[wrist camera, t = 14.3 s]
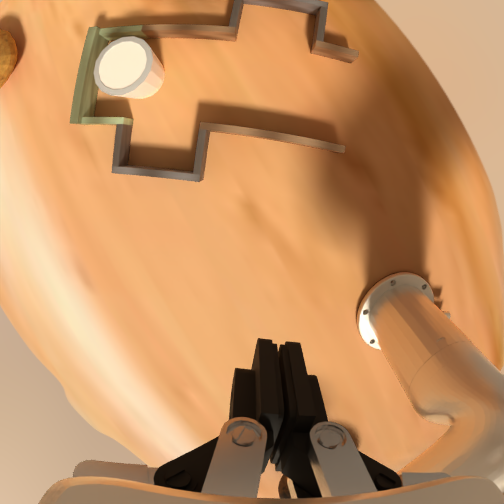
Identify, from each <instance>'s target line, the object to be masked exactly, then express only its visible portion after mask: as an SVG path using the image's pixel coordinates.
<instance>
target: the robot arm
mask: <svg viewBox="0 0 504 504" xmlns="http://www.w3.org/2000/svg"><path fill="white" fill-rule="evenodd" d="M357 327H358V331H359V333H360V335H361V337H362V339H363V340H364V341H365V342H366V343H367V344H368V345H369V346H371V347H373V348H375V349H379V350H382V352H383V353H384V355H385V357H386V359H387V360H388V362H389V364H390V366H391V368H392V369H393V371H394V373H395V375H396V377H397V378H398V380H399V382H400V384H401V386H402V387H403V389H404V391H405V393H406V395H407V397H408V399H409V400H410V402H411V404H412V406H413V408H414V409H415V411H416V412H417V413H418V415H419V416H421V417H422V418H423V419H425V420H427V421H429V422H432V423H436V424H442V425H451V426H450V428H449V429H448V431H447V432H446V433H445V434H444V435H443V436H442V437H440V438H439V439H438V441H437V442H435V443H434V444H433V445H432V446H431V447H429V448H428V449H427V450H426V451H424V452H423V453H422V454H421V455H419V456H418V457H417V458H415V459H414V460H413V461H412V462H410V463H409V464H408V465H406V466H405V467H404V468H402V469H401V470H400V471H398V472H397V473H396V472H394V471H393V470H391V469H389V468H388V467H386V466H384V465H382V464H380V463H379V462H377V461H375V460H373V459H372V458H370V457H368V456H366V455H365V454H363V453H361V452H360V451H358V450H357V448H356V446H355V444H354V442H353V440H352V438H351V436H350V434H349V432H348V431H347V429H345V428H344V427H343V426H341V425H339V424H337V423H334V422H328V419H327V415H326V411H325V407H324V403H323V399H322V395H321V391H320V387H319V383H318V379H317V376H315V375H307V371H306V366H305V362H304V357H303V353H302V348H301V344H300V343H297V342H287V341H286V342H285V345H282V344H281V345H280V347H279V351H278V349H277V344H272V340H269V339H260V338H258V340H257V344H256V349H255V354H254V359H253V364H252V369H251V370H248V369H240V368H235V372H234V378H233V384H232V391H231V401H230V413H229V420H228V421H227V422H226V423H225V424H224V425H223V427H222V429H221V432H220V435H219V436H218V437H216V438H215V439H213V440H211V441H209V442H207V443H205V444H203V445H202V446H200V447H198V448H196V449H194V450H192V451H190V452H188V453H186V454H184V455H182V456H180V457H178V458H176V459H174V460H172V461H170V462H168V463H166V464H164V465H162V466H161V467H159V468H149V467H147V465H138V464H124V463H113V462H104V461H95V460H86V461H83V462H81V463H79V464H78V465H77V466H76V467H75V470H74V472H73V478H67V479H63V480H60V481H58V482H56V483H55V484H53V485H52V486H51V487H50V488H49V489H48V490H47V492H46V493H45V495H44V496H43V497H42V499H41V500H40V502H39V504H504V374H502V373H501V372H500V371H499V370H498V369H497V368H496V367H495V366H494V365H493V364H492V363H491V362H490V361H489V360H488V359H487V358H486V357H485V356H484V355H483V354H482V352H481V351H480V350H479V349H478V348H477V347H476V346H475V345H474V344H473V343H472V342H471V341H470V340H469V339H468V338H467V336H466V335H465V334H464V333H463V332H462V331H461V330H460V329H459V328H458V327H457V326H456V325H455V324H454V323H453V322H452V321H451V320H450V313H449V312H448V311H441V310H440V309H439V308H438V307H437V306H436V305H435V304H434V295H433V291H432V289H431V287H430V285H429V284H428V283H427V282H426V281H425V280H424V279H423V278H422V277H420V276H419V275H416V274H414V273H409V272H400V273H396V274H392V275H390V276H387V277H385V278H383V279H382V280H380V281H379V282H378V283H376V284H375V285H374V286H373V287H372V288H371V289H370V290H369V291H368V293H367V294H366V295H365V297H364V298H363V300H362V302H361V304H360V307H359V310H358V314H357ZM269 458H270V462H271V463H272V464H275V469H276V471H282V473H283V474H284V475H285V476H287V477H288V478H287V484H288V488H289V491H290V495H291V498H292V499H274V498H257V493H258V488H259V482H260V476H261V474H262V473H263V472H264V471H265V468H266V466H267V463H268V460H269Z"/></svg>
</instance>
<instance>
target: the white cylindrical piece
mask: <svg viewBox="0 0 504 504" xmlns="http://www.w3.org/2000/svg"><path fill="white" fill-rule="evenodd" d="M164 77H165V71H164V67H163V65H162V64H161V62H160V61H159V59H158V58H157V56H156V55H155V53H154V52H153V50H152V49H151V47H150V46H149V45H148V44H147V43H146V42H145V41H144V40H143V39H140V38H137V37H134V36H131V37H122V38H120V39H117V40H115V41H113V42H111V43H110V44H109V45H108V46H107V47H106V48H105V49H103V50H102V52H101V53H100V55H99V57H98V59H97V60H96V63H95V68H94V78H95V83H96V84H97V86H98V87H99V88H100V90H101V91H102V92H105V93H107V94H109V95H112V96H120V97H128V98H135V99H144V98H147V97H150V96H152V95H153V94H155V93H156V92H157V91H158V90H159V89H160V87H161V86H162V84H163V82H164Z"/></svg>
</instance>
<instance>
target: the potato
mask: <svg viewBox="0 0 504 504" xmlns="http://www.w3.org/2000/svg"><path fill="white" fill-rule="evenodd" d="M17 55H18V52H17V47H16V42H15V40H14V39H13V37H12V36H11V34H10V32H9V31H6V30H2V29H0V88H1V87H2V86H3V84H4V83H5V82H6V81H7V80H8V78H9V76H10V75H11V73H12V71H13V70H14V67H15V64H16V61H17Z"/></svg>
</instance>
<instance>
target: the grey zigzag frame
mask: <svg viewBox="0 0 504 504" xmlns="http://www.w3.org/2000/svg"><path fill="white" fill-rule="evenodd" d="M243 4H251V5H259V6H267V7H274V8H280V9H286V10H292V11H297V12H302V13H307V14H312V15H316V20H315V27H314V35H313V42H312V49H311V54H316V55H320V56H324V57H328V58H332V59H336V60H340V61H344V62H348V63H351V62H353V61H354V60H355V59H356V58H357V57H358V53H359V51H356V50H353V49H349V48H346V47H342V46H338V45H335V44H331V43H327V42H323V41H324V33H325V25H326V17H327V9H328V3H327V2H323V1H319V0H234V4H233V8H232V13H231V18H230V22H229V26H215V25H195V24H155V25H134V26H121V27H111V28H102V29H100V28H99V27H97V26H96V27H89V29H88V33H87V36H86V40H85V44H84V48H83V52H82V56H81V61H80V65H79V70H78V75H77V80H76V85H75V91H74V97H73V103H72V110H71V117H70V123H71V124H83V125H117V128H116V136H115V144H114V153H113V164H112V173H117V174H129V175H140V176H150V177H160V178H169V179H178V180H187V181H195V182H200V181H202V180H203V178H204V171H205V163H206V156H207V149H208V142H209V135H210V131H211V132H220V133H228V134H235V135H243V136H250V137H257V138H263V139H269V140H275V141H281V142H287V143H292V144H298V145H303V146H308V147H313V148H318V149H323V150H328V151H332V152H337V153H345V147H346V146H343V145H339V144H335V143H330V142H326V141H321V140H316V139H311V138H306V137H301V136H296V135H290V134H285V133H279V132H273V131H267V130H261V129H254V128H247V127H240V126H232V125H224V124H216V123H206V122H200V127H199V133H198V140H197V147H196V154H195V162H194V170H193V171H184V170H175V169H165V168H155V167H144V166H133V165H128V159H129V150H130V141H131V133H132V126H133V119H130V118H125V117H94V113H95V106H96V100H97V94H98V88H99V87H98V86H97V84H96V83H95V78H94V68H95V63H96V60H97V59H98V57H99V55H100V53H101V52H102V50H103V49H105V48H106V47H107V46H108V42H109V41H111V40H117V39H120V38H122V37H131V36H134V37H137V38H140V39H141V38H194V39H212V40H225V41H236V39H237V33H238V28H239V23H240V19H241V14H242V9H243Z"/></svg>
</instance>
